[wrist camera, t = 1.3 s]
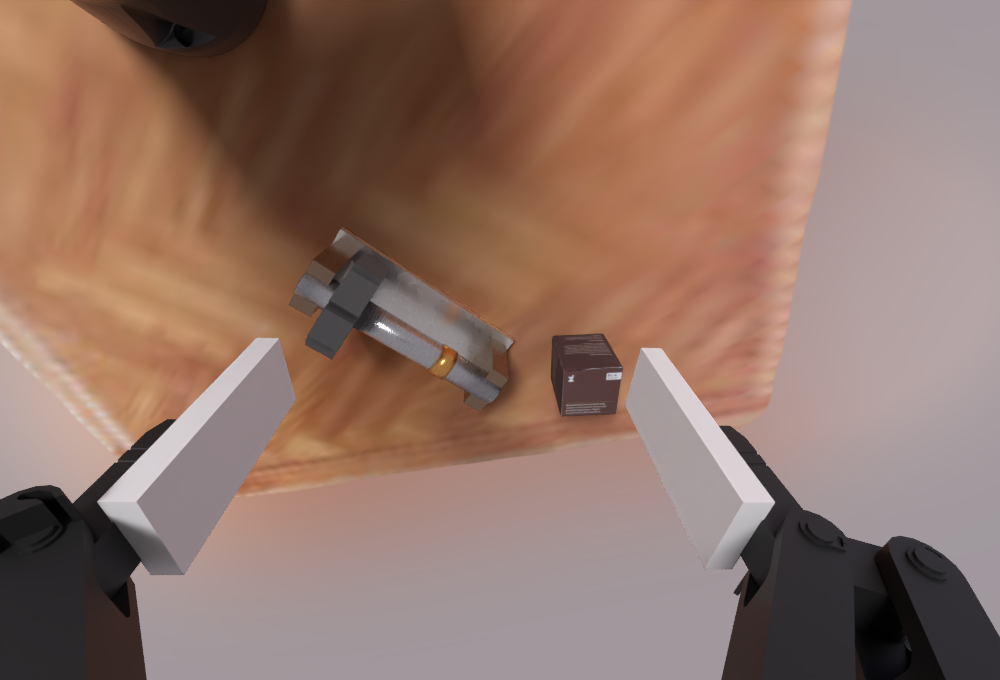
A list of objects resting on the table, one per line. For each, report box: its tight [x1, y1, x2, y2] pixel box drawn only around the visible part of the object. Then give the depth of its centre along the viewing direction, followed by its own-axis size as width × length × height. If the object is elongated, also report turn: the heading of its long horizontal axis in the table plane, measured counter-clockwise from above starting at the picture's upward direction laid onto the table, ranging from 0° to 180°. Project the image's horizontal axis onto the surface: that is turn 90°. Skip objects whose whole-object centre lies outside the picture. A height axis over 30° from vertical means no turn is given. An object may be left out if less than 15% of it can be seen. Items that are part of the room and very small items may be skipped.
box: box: [551, 334, 623, 416], centre depth 43 cm, size 6×6×7 cm
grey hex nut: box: [305, 253, 390, 359], centre depth 35 cm, size 2×9×9 cm, turn 143°
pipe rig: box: [289, 227, 514, 411], centre depth 39 cm, size 21×7×8 cm, turn 53°
